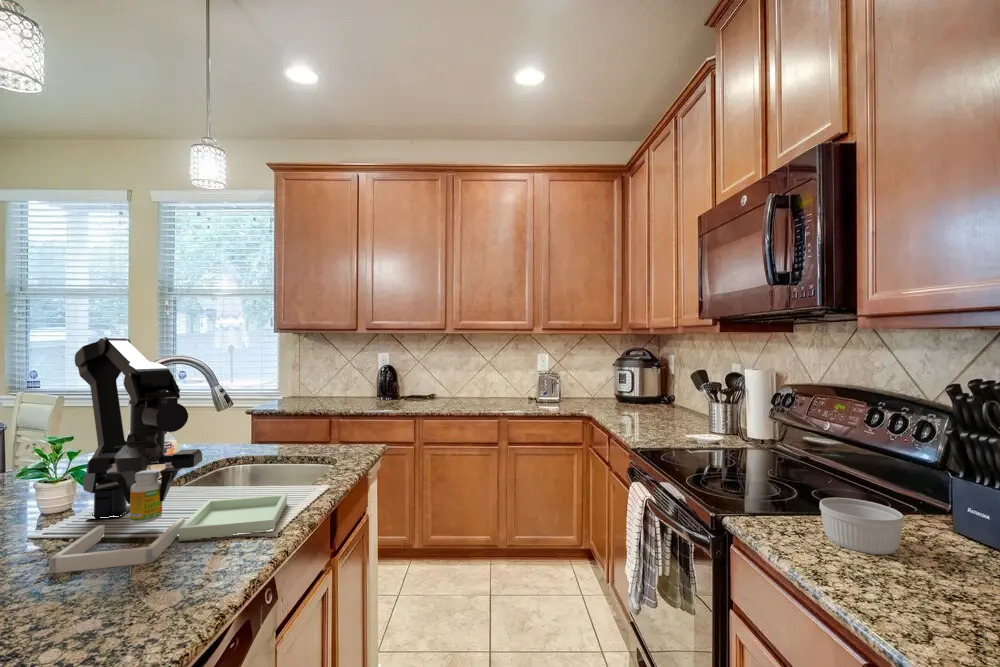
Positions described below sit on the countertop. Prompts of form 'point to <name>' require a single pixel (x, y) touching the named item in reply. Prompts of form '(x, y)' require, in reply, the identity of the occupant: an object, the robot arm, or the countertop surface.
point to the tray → (233, 517)
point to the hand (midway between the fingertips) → (146, 502)
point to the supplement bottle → (145, 497)
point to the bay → (109, 552)
